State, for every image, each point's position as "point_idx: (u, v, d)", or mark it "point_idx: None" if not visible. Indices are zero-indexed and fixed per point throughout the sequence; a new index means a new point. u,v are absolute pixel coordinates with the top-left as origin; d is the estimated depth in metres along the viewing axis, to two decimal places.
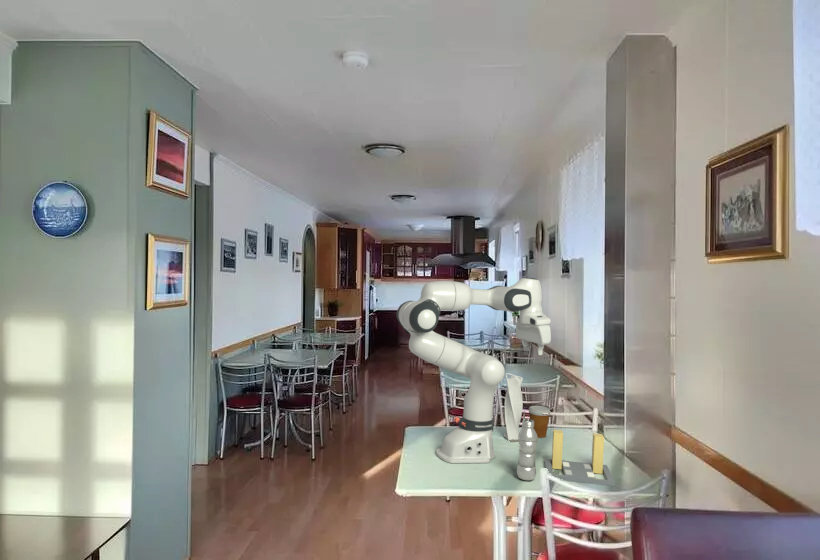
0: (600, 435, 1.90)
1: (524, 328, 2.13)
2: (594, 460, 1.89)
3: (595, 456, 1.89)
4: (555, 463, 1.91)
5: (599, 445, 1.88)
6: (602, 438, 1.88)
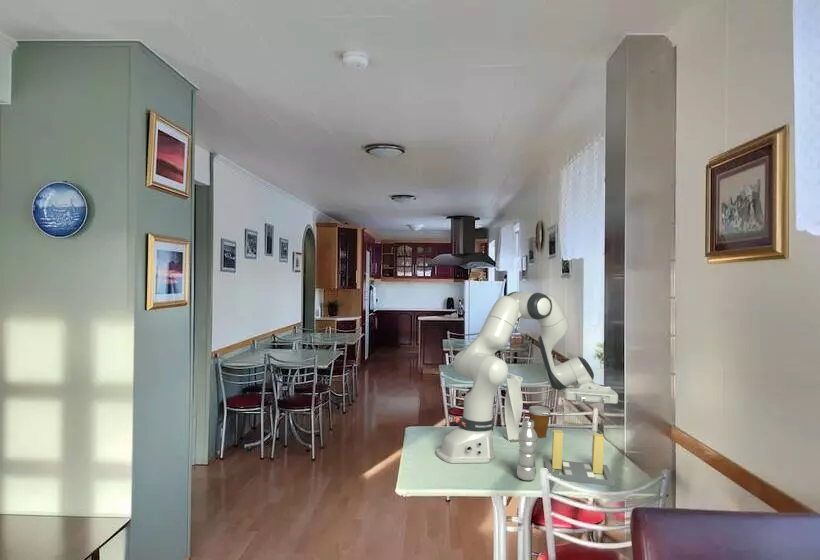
0: (600, 435, 1.90)
1: (581, 390, 2.15)
2: (594, 460, 1.89)
3: (595, 456, 1.89)
4: (555, 463, 1.91)
5: (599, 445, 1.88)
6: (602, 438, 1.88)
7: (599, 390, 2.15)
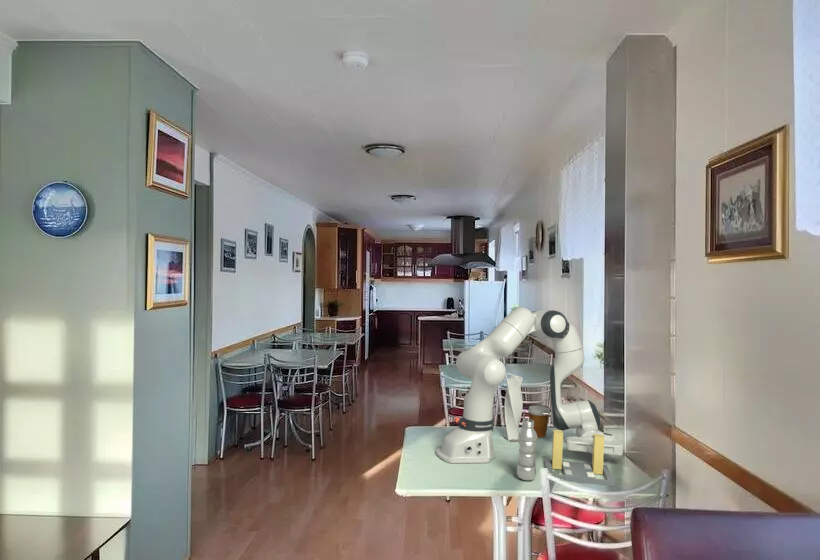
0: (600, 436, 1.90)
1: (584, 439, 2.02)
2: (594, 461, 1.88)
3: (595, 457, 1.88)
4: (555, 463, 1.91)
5: (599, 446, 1.88)
6: (602, 439, 1.88)
7: None
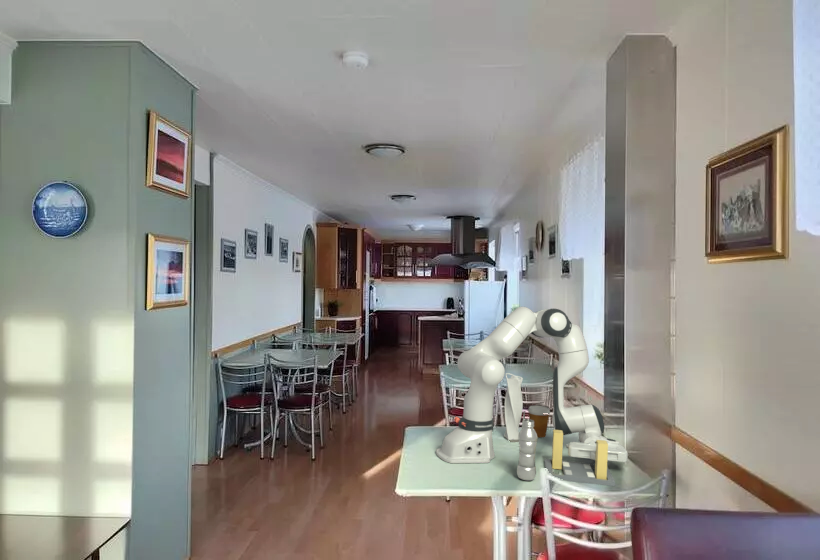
0: (604, 442, 1.83)
1: (587, 445, 1.95)
2: (598, 468, 1.81)
3: (599, 464, 1.81)
4: (555, 463, 1.91)
5: (603, 452, 1.81)
6: (606, 445, 1.81)
7: None
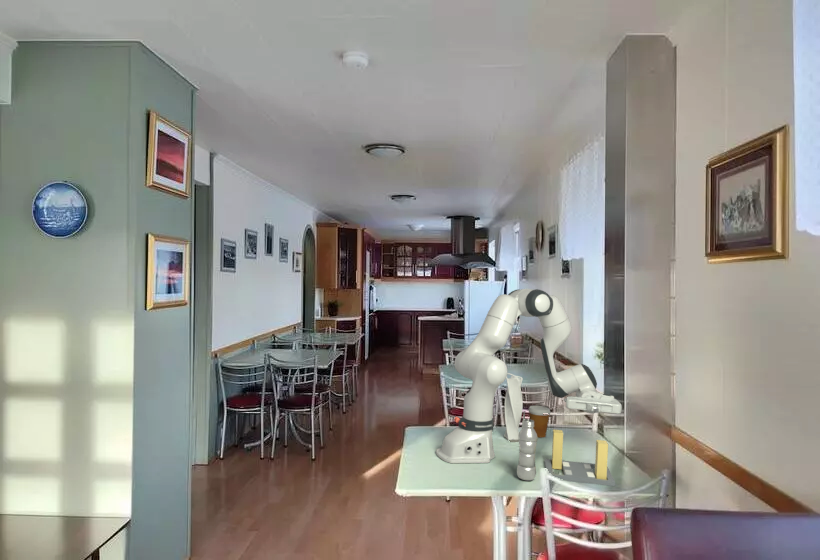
0: (604, 442, 1.83)
1: (584, 399, 2.07)
2: (598, 468, 1.81)
3: (599, 464, 1.81)
4: (555, 463, 1.91)
5: (603, 452, 1.81)
6: (606, 445, 1.81)
7: (602, 399, 2.07)
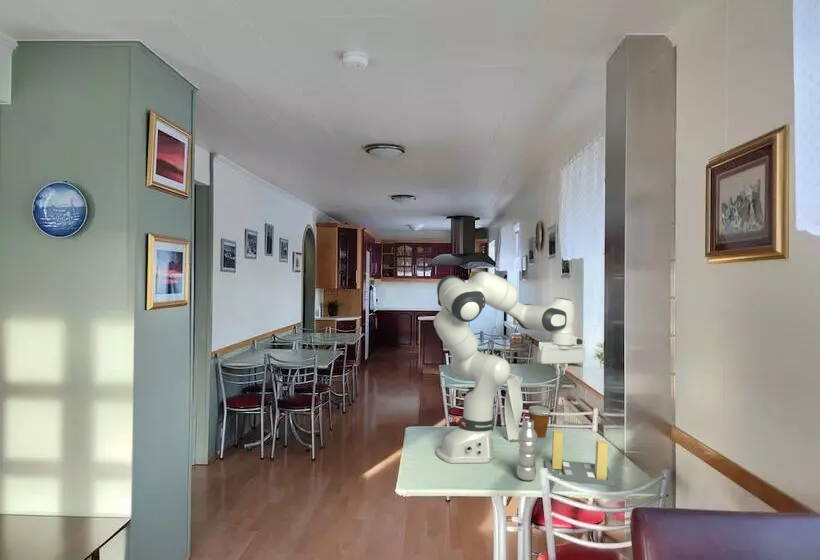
0: (604, 442, 1.83)
1: (556, 351, 2.05)
2: (598, 468, 1.81)
3: (599, 464, 1.81)
4: (555, 463, 1.91)
5: (603, 452, 1.81)
6: (606, 445, 1.81)
7: (572, 348, 2.07)
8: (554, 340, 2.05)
